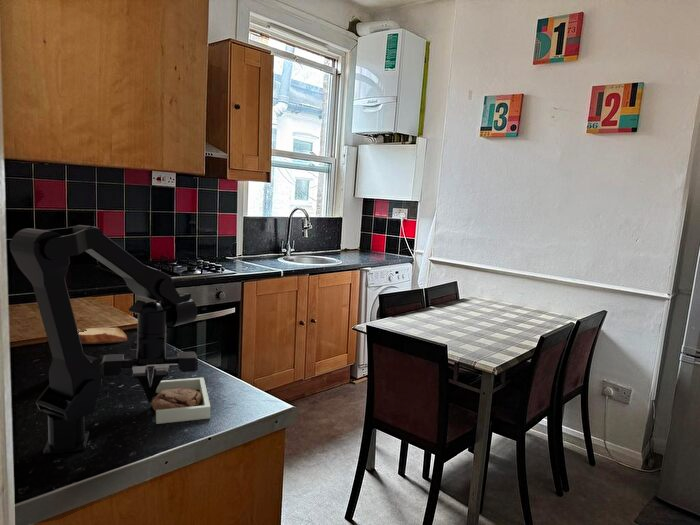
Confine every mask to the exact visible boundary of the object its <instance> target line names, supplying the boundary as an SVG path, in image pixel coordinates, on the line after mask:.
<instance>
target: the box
mask: <svg viewBox="0 0 700 525" xmlns="http://www.w3.org/2000/svg"><path fill="white" fill-rule="evenodd" d="M204 378H205V377H192V378H191V377H190V378H177V379H169V380H168V379H166V380H163V379H162V380H161V382H160V383H159V385H158V387H157V389H156V391H155V394H159V393H160V392H161V391H162V390H167V389H178V388H185V389H193V390H196V391H198V390H199V393H200V394H201V395H202V404H201V405H200V406H193V407H182V408H172V409H162V410H156V411H155V424H156V425H158V424H159V425H160V424H167V423H178V422H186V421H187V422H188V421H196V420H205V419H207V420H208V419H211V402H210V398H209V394H208V390H207V386H206V382H205V379H204Z"/></svg>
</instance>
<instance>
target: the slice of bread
mask: <svg viewBox="0 0 700 525" xmlns="http://www.w3.org/2000/svg"><path fill="white" fill-rule="evenodd" d="M85 329H86V330H87V331H84V332H79V337H80V341H81V345H104V344H119V343H122V342H127V341H128V336H127V334H126V333H125V332H124V331H123V330H122V329H120V328H119V327H107V326H105V327H91V328H85ZM78 330H80V329H78Z"/></svg>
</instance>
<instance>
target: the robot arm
mask: <svg viewBox="0 0 700 525" xmlns="http://www.w3.org/2000/svg"><path fill="white" fill-rule="evenodd" d="M9 251H10V253H11V255H12V257H13V259H14V261H15V264H16V265H17V267H18V269H19V270H20V271H21V272H22V274H23V275H24V276H25V277H26V279H27V280H28V281H29V282H30V283H31V286H32V289H33V292H34V295H35V299H36V300H35V301H36V303H37V306H38V309H39V312H40V314H39V315H40V317H41V320H42V324H43V328H44V333H45V335H46V339H47V343H48V346H49V349H50V353H51V357H52V361H51V364H50V365H49V370H48V381H49V382H48V384H47V386H46V387H45V389H44V390H43V391H42V393H41V394H40V395H39V396H38V397H37V399H36V401H35V404H36V406H37V409H38V410H39V411H40V412H44V413H47V427H48V428H47V431H48V432H47V436H48V439H47V441H46V443H45V446H44V448H43V451H42V454H43V455H52V454H60V453H61V454H62V453H69V452H79V451H84V450H85V449H86V447H87V442H88V440H89V437H90V431H89V430H88V431H86V430H85V428H86V427H85V425H86V424H85V420H86V419H85V417H87V416H88V415H92V414H93V413H94V411H95V409H96V404H97V401H98V398H99V397H98V396H99V393H100V392H101V391H102V389H103V381H102V379H103V380H104V379H105V377H110V376H111V377H113V376H119V375H120V374H121V373H122V372H123V369H124V370H125V369H131V370H132V378H133V379H137V380H138V381H139V383H140V385H141V386H142V389H143V392H144V394H145V396H146V400H147V402H148V403H151V402H152V400H153V399H154V396H155V394H156V389H157V387H158V385H159V383H160V382H161V381H163V379H164V378H165V377H169V369H170V367H178V370H179V371H180V372H182V373H189V372H190V373H191V372H197V371H198V365H199V362H198V361H199V359H198V356H197V355H198V354H197V353H196V352H195V351H178V352H177V356H172V357H171V356H170V357H166V356H167V354H166V353H167V352H166V351H167V327H169V328H172V327H176V326H180V325H184V324H189V323H192V322H194V321H195V320H196V318H197V316H198V312H199V310H198V308H197V305H196V303H195V301H194V300H193V299H192V293H188V292H181V293H179V292H178V290H177V289H176V287H175V285H174V283H173V282H174V280H173V278H172V277H171V276H170V275H169V274H168V273H166V272H164V271H161V270H159V269H157V268H154V267H151V266H149V265H146V264H144V263H142V262H141V261H140V260H138V259H137V258H136V257H134V255H132V254H131V253H129V252H128V251H127V250H125V249H124V248H123V247H122V246H120V245H119V244H118V243H116V242H115V241H113V240H112V239H111V238H110V237H109V236H107V235H106V234H104V232H103V231H102V230H101V228H99V227H98V226H93V225H92V226H91V225H83V224H77V225H74V226H69V227H62V228H52V229H50V228H49V229H37V228H32V227H31V228H30V227H28V228H23V229H22V228H21V230H18V231H17V232H16V233H15V234H14V235H13V237H12V238H11V239H10V240H9ZM84 252H86V253H87V254H89V255H90V256H91V257H92V258H95V259H96V260H97V261H98V262H100V263H101V264H103V265H104V266H105V267H107V268H109V269H110V270H111V271H113V272H114V273H115V274H117V275H118V276H120V277H121V278H122V279H123V280H124V281H125V284H126V287H127V288H128V289H129V290H130V291H131V292H132V293H133V294H134V295H135V296H136V297H139V298H143V299H148V300H151V301H149V302H146V301H145V300H139V299H137V300H136V301H135V303H134V304H132V305H131V306H130V307H129V308H128V312H130V313H134V314H137V326H136V327H137V328H136V329H137V334H131V335H130V350H136V358H125V355H124V353H117V354H116V353H114V354H111V353H110V354H105V355H103V357H102V361H101V363H100V359H99V358H96V357H94V356H91V355H87V354H85V352H84V350H83V344H81V341H80V337H79V333H78V330H79V329H78V325H77V322H76V318H75V314H74V311H73V307H72V302H71V298H70V295H69V291H68V286H67V283H66V282H67V281H66V276H67V272H68V270H69V266H70V257H74V256H78V255H81V254H82V253H84ZM95 259H94V260H95ZM159 302H160V303H159ZM149 368H153V370H152V376H151V383H150V374H149Z"/></svg>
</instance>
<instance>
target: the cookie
mask: <svg viewBox="0 0 700 525" xmlns="http://www.w3.org/2000/svg"><path fill="white" fill-rule="evenodd" d="M150 405H151V406H150V407H152V409H153V410H154V411H155V412H156V410H162V409H172V408H182V407H193V406H202V405H203V404H202V395H201V394H200V391H198V390H193V389H185V388H178V389H167V390H162V391H161V392H160V393H157V395H155V397H153V399H152V401H151V402H150Z"/></svg>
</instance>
